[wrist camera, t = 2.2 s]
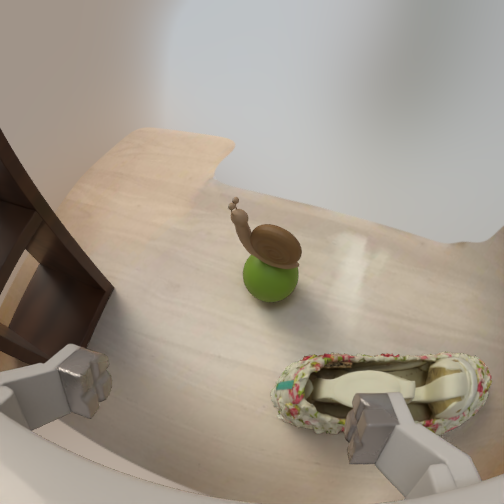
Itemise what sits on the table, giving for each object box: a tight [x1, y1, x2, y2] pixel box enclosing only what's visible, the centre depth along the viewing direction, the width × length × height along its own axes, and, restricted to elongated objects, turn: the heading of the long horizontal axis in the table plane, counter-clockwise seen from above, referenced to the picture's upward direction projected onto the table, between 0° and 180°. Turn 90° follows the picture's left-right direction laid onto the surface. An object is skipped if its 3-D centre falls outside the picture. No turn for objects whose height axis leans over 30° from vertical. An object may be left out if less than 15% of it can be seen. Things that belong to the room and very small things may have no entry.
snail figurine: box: [228, 197, 302, 302], centre depth 28 cm, size 5×6×12 cm
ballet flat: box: [271, 352, 492, 436], centre depth 23 cm, size 9×25×8 cm, turn 86°
